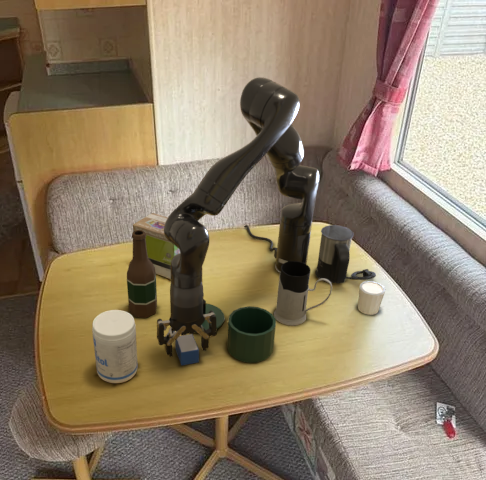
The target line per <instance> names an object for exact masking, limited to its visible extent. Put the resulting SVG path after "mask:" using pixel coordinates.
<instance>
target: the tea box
mask: <svg viewBox="0 0 486 480" xmlns="http://www.w3.org/2000/svg"><path fill="white" fill-rule="evenodd" d="M168 217H169V216H164V215H161V214H158V213H155V212H152V213H150V214H148V215H147V216H145V217H143V218H141V219H139V220H138V221H136V222H135V223H133V224H132V233H133V232H134V231H136V230H143V231H144V232H145V233H146V238H145V239H146V247H147V254H148V258H149V260H150V261H151V262H152V263H153V265H154V267H155V272H156V275H158V276H161V277H163V278H166V279H169V280H171V260H172V259H173V257H174V256H175V255H177V254H179V253H180V249H178V248H177V247H176V246H175V245H174V244H172V243H171V242H170V241H169V240H167V238H166V237H165V235H164V226H165V222H166V220H167V218H168Z"/></svg>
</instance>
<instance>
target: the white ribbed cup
mask: <svg viewBox="0 0 486 480" xmlns="http://www.w3.org/2000/svg"><path fill="white" fill-rule="evenodd" d="M358 288H359V289H358V297H357V298H358V300H357V309H358V311H359V312H361V313H362V314H364V315H369V316H372V315H373V316H374V315H376V314H378V313H379V310H380V308H381V305H382V302H383V298H384V296H385V293H386V287H385V286H384V285H383V284H381V283H380V282H377V281H373V280H365V281H362V282H361V283H359V287H358Z"/></svg>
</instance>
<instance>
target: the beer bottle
mask: <svg viewBox="0 0 486 480" xmlns="http://www.w3.org/2000/svg"><path fill="white" fill-rule="evenodd" d="M131 238H132V258H131V260H130V262H129V265H128V268H127V271H126V286H127V287H126V288H127V301H128V310H129V313H130V314H131V315H132V316H133V317H135V318H142V319H143V318H145V319H148V318H149V317H151V316H154V315H155V314H156V312H157V307H158V294H157V274H156V272H155V267H154V265H153V263H152V262H151V261H150V260H149V258H148V254H147V247H146V239H145V238H146V233H145V232H144V231H143V230H136V231H134V232H133V231H132V233H131Z"/></svg>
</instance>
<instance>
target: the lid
mask: <svg viewBox="0 0 486 480" xmlns="http://www.w3.org/2000/svg"><path fill="white" fill-rule="evenodd" d="M211 310H212V311H213V312H214V314H215V316H216V326H217V330H218V329H220V328H221V327H222V326H223V324H224V322H225V318H226V317H225V313H224V312H223V310H222V309H221V308H219V307H218V306H217V305H214V304H211V303H207V300H206V299H204V298H203V315H204V314H209V311H211ZM202 326H203V327H204V328H205V329H206V330H207V329H209V323H208V322H207V320H205V321H204V322H203V324H202ZM196 333H197V332H195V334H196ZM197 334H198V333H197Z"/></svg>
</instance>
